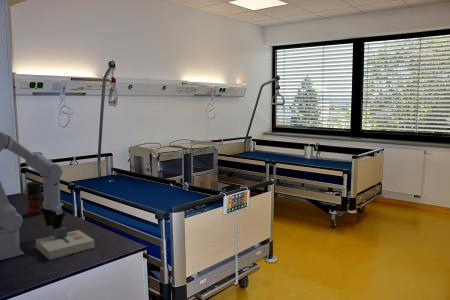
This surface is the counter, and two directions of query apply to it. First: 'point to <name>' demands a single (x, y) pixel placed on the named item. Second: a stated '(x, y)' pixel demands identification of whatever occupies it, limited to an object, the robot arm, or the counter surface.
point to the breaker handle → (60, 232)
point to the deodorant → (34, 198)
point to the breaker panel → (64, 244)
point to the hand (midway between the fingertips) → (53, 228)
